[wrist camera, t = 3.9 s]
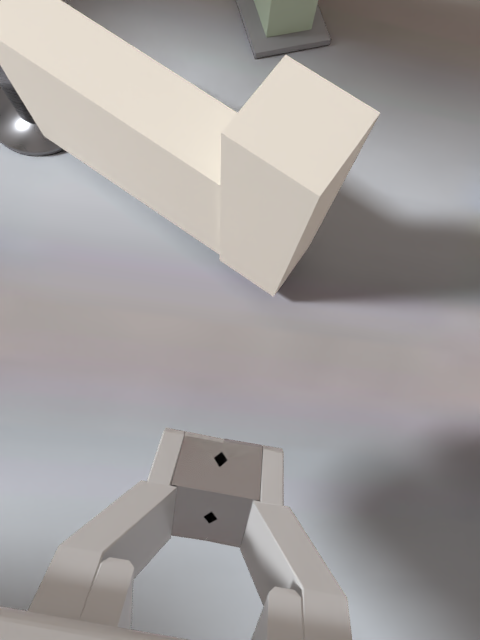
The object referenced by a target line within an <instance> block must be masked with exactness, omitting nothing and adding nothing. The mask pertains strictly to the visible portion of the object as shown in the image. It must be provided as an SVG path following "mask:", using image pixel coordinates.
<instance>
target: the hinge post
mask: <svg viewBox="0 0 480 640" xmlns="http://www.w3.org/2000/svg"><path fill="white" fill-rule="evenodd" d="M0 1H1V0H0ZM0 142H1V143H2V144H3V145H4V146H6V147H7V148H9V149H11V150H13V151H15V152H17V153H20V154H24V155H29V156H45V155H51V154H55V153H58V152H60V151H63V150H64V149H62V148H61V147H59V146H58V145H56V144H55V143H53V142H52V141H50V140H49V139H48V138H46V137H45V136H43V134H42V132H41V131H40V129H39V127H38V126H37V124H36V123H35V121H34V119H33V118H32V116H31V114H30V113H29V111H28V110H27V108H26V106H25V105H24V103H23V101H22V100H21V98H20V97H19V95H18V93H17V92H16V90H15V88H14V87H13V85H12V84H11V82H10V80H9V79H8V77H7V75H6V74H5V72H4V71H3V69H2V67H1V66H0Z"/></svg>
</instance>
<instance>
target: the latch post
mask: <svg viewBox="0 0 480 640" xmlns="http://www.w3.org/2000/svg"><path fill="white" fill-rule="evenodd" d="M236 3H237V6H238V9H239V12H240V15H241V18H242V21H243V24H244V27H245V30H246V33H247V36H248V39H249V42H250V45H251V48H252V51H253V54H254V57H255V58H260V57H266V56H271V55H276V54H282V53H287V52H292V51H298V50H303V49H308V48H314V47H319V46H324V45H329V44H330V41H331V38H330V36H329V33H328V30H327V28H326V25H325V22H324V20H323V17H322V14H321V12H320V9H319V6H318V0H236Z"/></svg>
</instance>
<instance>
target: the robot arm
mask: <svg viewBox="0 0 480 640" xmlns="http://www.w3.org/2000/svg"><path fill="white" fill-rule="evenodd" d="M171 535H172V536H179V537H185V538H192V539H199V540H206V541H210V542H215V543H220V544H225V545H230V546H235V547H239V548H240V550H241V553H242V555H243V558H244V560H245V563H246V565H247V567H248V570H249V572H250V575H251V577H252V579H253V582H254V584H255V587H256V589H257V592H258V594H259V596H260V599H261V601H262V604H263V606H264V607H263V610H262V612H261V615H260V618H259V620H258V623H257V626H256V628H255V631H254V633H253V636H252V639H251V640H352V634H351V626H350V617H349V609H348V600H347V597H346V595H345V594H344V592H343V590H342V589H341V587H340V586H339V584H338V583H337V581H336V579H335V578H334V576H333V575H332V573H331V572H330V570H329V568H328V567H327V565H326V564H325V562H324V560H323V559H322V557H321V556H320V554H319V553H318V551H317V549H316V548H315V546H314V545H313V543H312V542H311V540H310V538H309V537H308V535H307V534H306V532H305V531H304V529H303V527H302V526H301V524H300V523H299V521H298V520H297V518H296V516H295V515H294V513H293V512H292V510H291V509H290V507H287V506H284V494H283V450H282V449H281V448H276V447H270V446H264V445H263V446H262V445H259V444H253V443H247V442H241V441H235V440H229V439H221V438H216V437H211V436H206V435H201V434H196V433H191V432H187V431H186V432H185V431H180V430H175V429H170V428H165V430H164V432H163V434H162V437H161V440H160V443H159V446H158V449H157V452H156V455H155V458H154V461H153V464H152V467H151V470H150V473H149V476H148V479H147V481H140V482H138V483H137V484H136V485H135V486H133V487H132V488H131V489H129V490H128V491H127V492H126V493H124V494H123V495H122V496H121V497H119V498H118V499H117V500H116V501H114V502H113V503H112V504H111V505H109V506H108V507H107V508H106V509H104V510H103V511H102V512H100V513H99V514H98V515H97V516H95V517H94V518H93V519H92V520H90V521H89V522H88V523H87V524H85V525H84V526H83V527H82V528H80V529H79V530H78V531H77V532H75V533H74V534H73V535H71V536H70V537H69V538H68V539H66V540H65V541H64V542H63V543H61V544H60V545H59V546H58V548H57V550H56V552H55V554H54V556H53V559H52V561H51V563H50V565H49V567H48V569H47V571H46V573H45V575H44V578H43V580H42V582H41V584H40V586H39V588H38V590H37V592H36V594H35V597H34V599H33V601H32V603H31V605H30V607H29V609H28V611H24V610H18V609H13V608H7V607H1V606H0V640H188V639H183V638H177V637H171V636H166V635H160V634H154V633H149V632H143V631H137V630H132V629H131V622H132V602H133V583H134V578H135V577H136V576H137V575H138V574H139V573H140V572H141V571H142V569H143V568H144V567H145V566H146V565H147V564H148V563H149V562H150V560H151V559H152V558H153V557H154V556H155V555H156V554H157V553H158V552H159V550H160V549H161V548H162V547H163V546H164V545H165V544H166V543H167V541H168V540H169V539H170V538H171Z"/></svg>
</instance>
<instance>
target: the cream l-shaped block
mask: <svg viewBox="0 0 480 640" xmlns="http://www.w3.org/2000/svg"><path fill="white" fill-rule="evenodd" d="M0 66H1V67H2V69H3V71H4V72H5V74H6V75H7V77H8V79H9V80H10V82H11V84H12V85H13V87H14V88H15V90H16V92H17V93H18V95H19V97H20V98H21V100H22V101H23V103H24V105H25V106H26V108H27V110H28V111H29V113H30V114H31V116H32V118H33V119H34V121H35V123H36V124H37V126H38V127H39V129H40V131H41V132H42V134H43V136H45V137H46V138H48V139H49V140H50V141H52V142H53V143H55V144H56V145H58V146H59V147H61V148H62V149H64V150H65V151H67V152H68V153H70V154H71V155H73V156H74V157H76V158H77V159H79V160H80V161H82V162H83V163H84V164H86V165H87V166H89V167H90V168H92V169H93V170H95V171H96V172H98V173H99V174H101V175H102V176H104V177H105V178H107V179H108V180H110V181H111V182H113V183H114V184H116V185H117V186H119V187H120V188H121V189H123V190H124V191H126V192H127V193H129V194H130V195H132V196H133V197H135V198H136V199H138V200H139V201H141V202H142V203H144V204H145V205H147V206H148V207H150V208H151V209H153V210H154V211H155V212H157V213H158V214H160V215H161V216H163V217H164V218H166V219H167V220H169V221H170V222H172V223H173V224H175V225H176V226H178V227H179V228H181V229H182V230H184V231H185V232H187V233H188V234H190V235H191V236H192V237H194V238H195V239H197V240H198V241H200V242H201V243H203V244H204V245H206V246H207V247H209V248H210V249H212V250H213V251H215V252H216V253H218V254H219V255H220V259H219V260H220V261H221V262H223V263H224V264H226V265H227V266H229V267H230V268H232V269H233V270H235V271H236V272H238V273H239V274H241V275H242V276H244V277H245V278H247V279H248V280H250V281H251V282H252V283H254V284H255V285H257V286H258V287H260V288H261V289H263V290H264V291H266V292H267V293H269V294H270V295H272V296H273V297H274V296H275V294H276V293H277V291H278V290H279V289H280V287H281V286H282V284H283V283H284V282H285V280H286V279H287V277H288V276H289V274H290V273H291V272H292V270H293V269H294V267H295V266H296V265H297V263H298V262H299V260H300V259H301V257H302V256H303V255H304V253H305V252H306V250H307V249H308V248H309V246H310V244H311V242H312V240H313V238H314V237H315V235H316V233H317V231H318V229H319V227H320V225H321V223H322V222H323V220H324V218H325V216H326V214H327V212H328V210H329V208H330V207H331V205H332V203H333V201H334V199H335V197H336V195H337V193H338V192H339V190H340V188H341V186H342V184H343V182H344V180H345V178H346V177H347V175H348V173H349V171H350V169H351V167H352V165H353V163H354V162H355V160H356V158H357V156H358V154H359V152H360V150H361V148H362V147H363V145H364V143H365V141H366V139H367V137H368V135H369V133H370V131H371V130H372V128H373V126H374V124H375V122H376V120H377V118H378V116H379V115H380V112H378V111H377V110H375V109H373V108H372V107H370V106H368V105H367V104H365V103H364V102H362V101H360V100H359V99H357V98H355V97H354V96H352V95H351V94H349V93H347V92H346V91H344V90H342V89H341V88H339V87H338V86H336V85H334V84H333V83H331V82H329V81H328V80H326V79H325V78H323V77H321V76H320V75H318V74H316V73H315V72H313V71H312V70H310V69H308V68H307V67H305V66H304V65H302V64H300V63H299V62H297V61H295V60H294V59H292V58H291V57H289V56H287V55H285V56H284V57H283V58H282V60H281V61H280V62H279V63H278V64H277V66H276V67H275V68H274V69H273V70H272V72H271V73H270V74H269V75H268V77H267V78H266V79H265V80H264V81H263V83H262V84H261V85H260V86H259V87H258V89H257V90H256V91H255V92H254V93H253V95H252V96H251V97H250V98H249V100H248V101H247V102H246V103H245V104H244V106H243V107H242V108H241V109H240V110H239V112H238V113H237V112H235V111H234V110H232V109H231V108H229V107H228V106H226V105H224V104H223V103H221V102H220V101H218V100H217V99H215V98H213V97H212V96H210V95H209V94H207V93H206V92H204V91H203V90H201V89H199V88H198V87H196V86H195V85H193V84H192V83H190V82H188V81H187V80H185V79H184V78H182V77H181V76H179V75H177V74H176V73H174V72H173V71H171V70H170V69H168V68H166V67H165V66H163V65H162V64H160V63H159V62H157V61H155V60H154V59H152V58H151V57H149V56H148V55H146V54H145V53H143V52H141V51H140V50H138V49H137V48H135V47H134V46H132V45H130V44H129V43H127V42H126V41H124V40H123V39H121V38H119V37H118V36H116V35H115V34H113V33H112V32H110V31H108V30H107V29H105V28H104V27H102V26H101V25H99V24H97V23H96V22H94V21H93V20H91V19H90V18H88V17H87V16H85V15H83V14H82V13H80V12H79V11H77V10H76V9H74V8H72V7H71V6H69V5H68V4H66V3H65V2H63V1H61V0H1V1H0Z"/></svg>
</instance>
